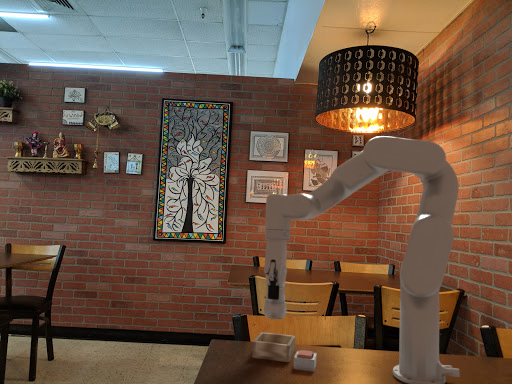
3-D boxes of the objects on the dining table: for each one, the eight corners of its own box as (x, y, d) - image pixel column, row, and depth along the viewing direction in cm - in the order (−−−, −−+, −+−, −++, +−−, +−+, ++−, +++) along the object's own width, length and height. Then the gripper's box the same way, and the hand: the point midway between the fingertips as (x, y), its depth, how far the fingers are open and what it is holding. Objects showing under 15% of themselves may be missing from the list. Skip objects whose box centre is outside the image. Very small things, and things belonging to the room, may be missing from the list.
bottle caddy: (294, 351, 121) (295, 335, 121) (289, 362, 112) (289, 345, 112) (260, 346, 124) (261, 332, 124) (252, 357, 114) (252, 341, 115)
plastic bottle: (286, 322, 115) (289, 251, 116) (263, 321, 115) (265, 251, 116) (285, 316, 121) (287, 249, 122) (263, 315, 122) (265, 249, 123)
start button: (312, 363, 110) (313, 351, 110) (311, 368, 107) (311, 355, 107) (299, 361, 111) (299, 349, 111) (297, 366, 108) (297, 354, 108)
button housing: (316, 364, 111) (316, 353, 111) (314, 371, 106) (314, 360, 106) (296, 361, 112) (297, 350, 112) (293, 369, 107) (293, 357, 107)
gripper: (271, 233, 129) (269, 290, 128) (258, 236, 112) (255, 302, 111) (294, 234, 127) (293, 293, 126) (284, 237, 110) (282, 304, 109)
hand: (275, 296), depth 119 cm, fingers closed on plastic bottle, 5 cm apart
